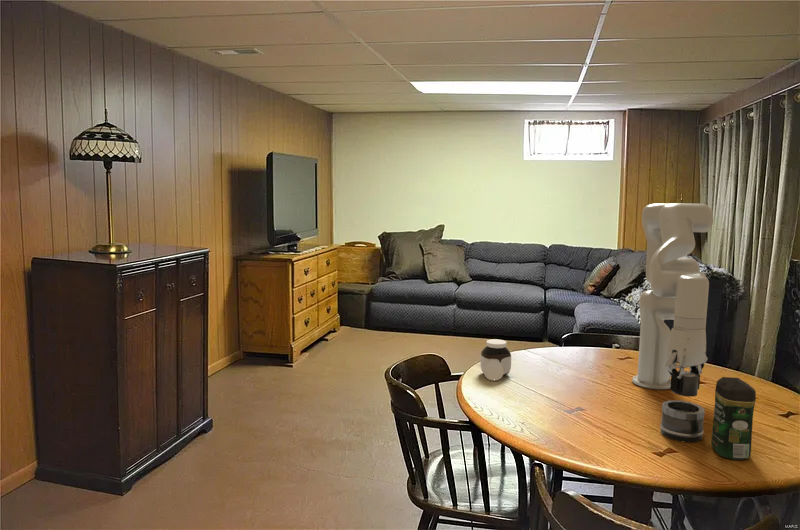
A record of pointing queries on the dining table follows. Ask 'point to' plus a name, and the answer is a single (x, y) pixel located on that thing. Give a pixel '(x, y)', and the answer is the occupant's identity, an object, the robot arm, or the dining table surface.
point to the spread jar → (495, 359)
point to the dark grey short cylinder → (689, 384)
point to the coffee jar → (733, 418)
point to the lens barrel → (682, 420)
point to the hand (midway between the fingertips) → (684, 389)
